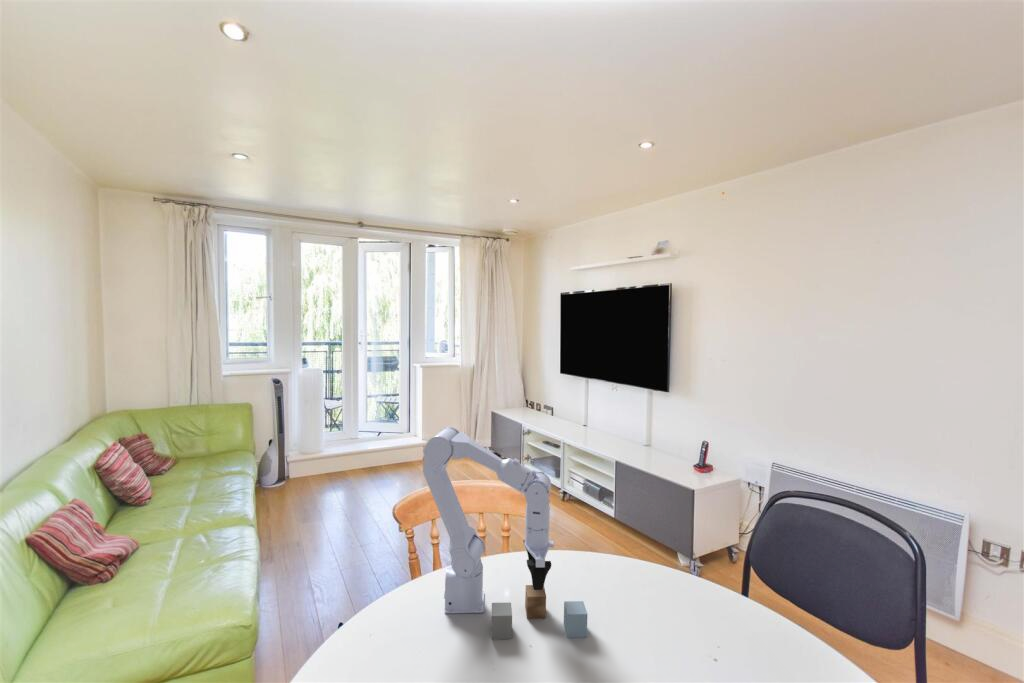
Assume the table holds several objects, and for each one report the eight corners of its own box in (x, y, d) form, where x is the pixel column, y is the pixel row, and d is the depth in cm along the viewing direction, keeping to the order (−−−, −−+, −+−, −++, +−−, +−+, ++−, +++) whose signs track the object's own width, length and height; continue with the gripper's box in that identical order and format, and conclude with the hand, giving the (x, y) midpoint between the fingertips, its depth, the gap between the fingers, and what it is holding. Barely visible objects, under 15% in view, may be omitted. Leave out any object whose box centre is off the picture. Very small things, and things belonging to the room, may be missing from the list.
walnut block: (526, 618, 108) (527, 596, 107) (525, 606, 112) (525, 585, 112) (545, 618, 108) (546, 596, 107) (543, 605, 112) (543, 584, 112)
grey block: (491, 639, 101) (492, 616, 100) (491, 625, 105) (491, 602, 105) (511, 639, 101) (512, 615, 100) (510, 624, 105) (511, 602, 105)
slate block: (567, 637, 102) (567, 614, 101) (563, 623, 106) (564, 601, 106) (586, 637, 102) (587, 614, 101) (582, 623, 106) (583, 601, 106)
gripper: (558, 540, 101) (557, 598, 102) (549, 511, 116) (548, 562, 117) (527, 540, 101) (526, 598, 102) (522, 511, 115) (521, 562, 116)
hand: (536, 579), depth 109 cm, fingers open, 7 cm apart
